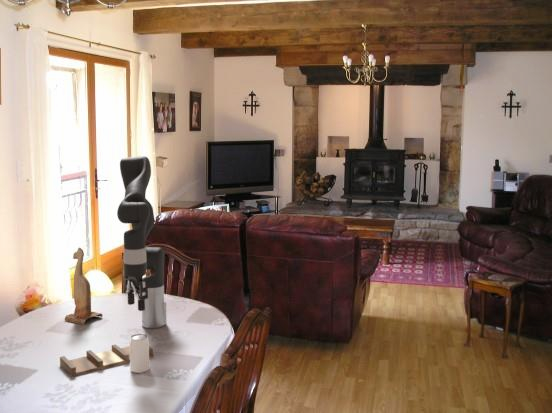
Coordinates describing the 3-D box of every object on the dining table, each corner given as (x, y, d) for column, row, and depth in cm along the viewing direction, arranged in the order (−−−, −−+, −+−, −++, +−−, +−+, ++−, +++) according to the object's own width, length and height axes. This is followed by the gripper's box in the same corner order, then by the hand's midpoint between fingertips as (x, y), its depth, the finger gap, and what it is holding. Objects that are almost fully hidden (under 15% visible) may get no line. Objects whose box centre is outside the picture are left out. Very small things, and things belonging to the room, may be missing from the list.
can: (131, 366, 216) (130, 333, 214) (150, 365, 216) (149, 333, 215) (129, 373, 209) (128, 340, 208) (148, 373, 210) (147, 339, 208)
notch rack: (139, 346, 234) (139, 338, 234) (153, 356, 225) (153, 348, 224) (60, 365, 216) (59, 357, 216) (71, 376, 207) (71, 368, 206)
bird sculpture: (82, 314, 272) (77, 243, 267) (103, 317, 267) (98, 245, 262) (64, 322, 262) (58, 248, 257) (85, 325, 257) (80, 250, 252)
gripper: (154, 263, 204) (155, 310, 206) (136, 255, 215) (137, 300, 217) (133, 266, 199) (134, 314, 202) (116, 258, 211) (117, 304, 213)
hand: (136, 307), depth 210 cm, fingers open, 8 cm apart
